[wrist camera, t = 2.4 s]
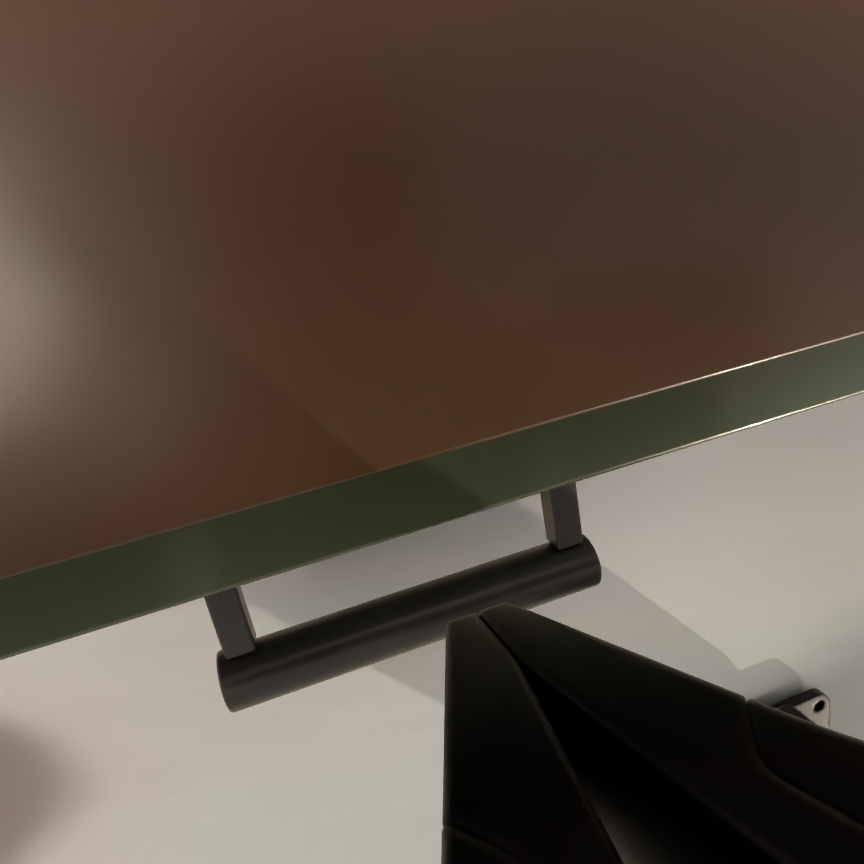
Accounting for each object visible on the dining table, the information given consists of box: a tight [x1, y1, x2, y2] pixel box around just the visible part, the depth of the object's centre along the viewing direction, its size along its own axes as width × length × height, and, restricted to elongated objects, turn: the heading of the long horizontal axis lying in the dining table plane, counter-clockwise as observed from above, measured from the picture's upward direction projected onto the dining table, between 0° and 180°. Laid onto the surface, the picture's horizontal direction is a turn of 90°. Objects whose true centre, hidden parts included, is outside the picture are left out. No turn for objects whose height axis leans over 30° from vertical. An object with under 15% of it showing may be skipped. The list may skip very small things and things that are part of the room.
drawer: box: [0, 333, 864, 712], centre depth 10 cm, size 20×13×9 cm, turn 11°
